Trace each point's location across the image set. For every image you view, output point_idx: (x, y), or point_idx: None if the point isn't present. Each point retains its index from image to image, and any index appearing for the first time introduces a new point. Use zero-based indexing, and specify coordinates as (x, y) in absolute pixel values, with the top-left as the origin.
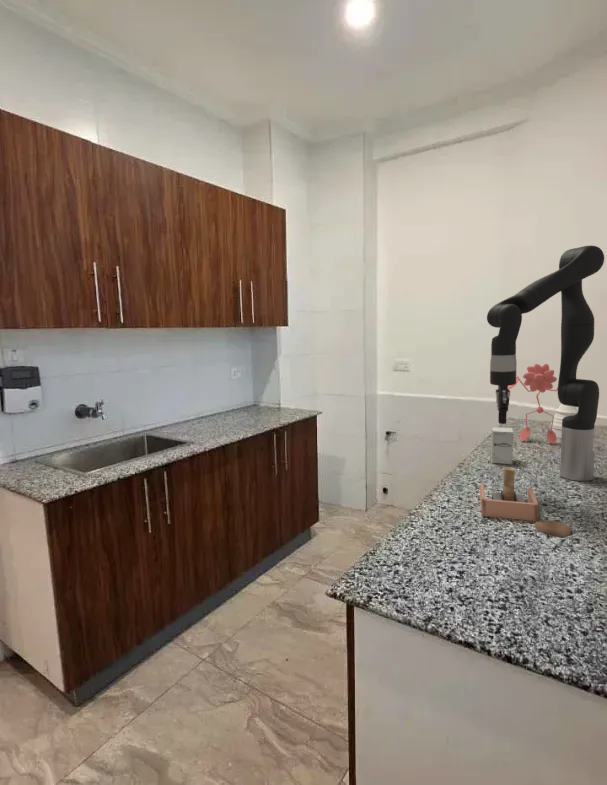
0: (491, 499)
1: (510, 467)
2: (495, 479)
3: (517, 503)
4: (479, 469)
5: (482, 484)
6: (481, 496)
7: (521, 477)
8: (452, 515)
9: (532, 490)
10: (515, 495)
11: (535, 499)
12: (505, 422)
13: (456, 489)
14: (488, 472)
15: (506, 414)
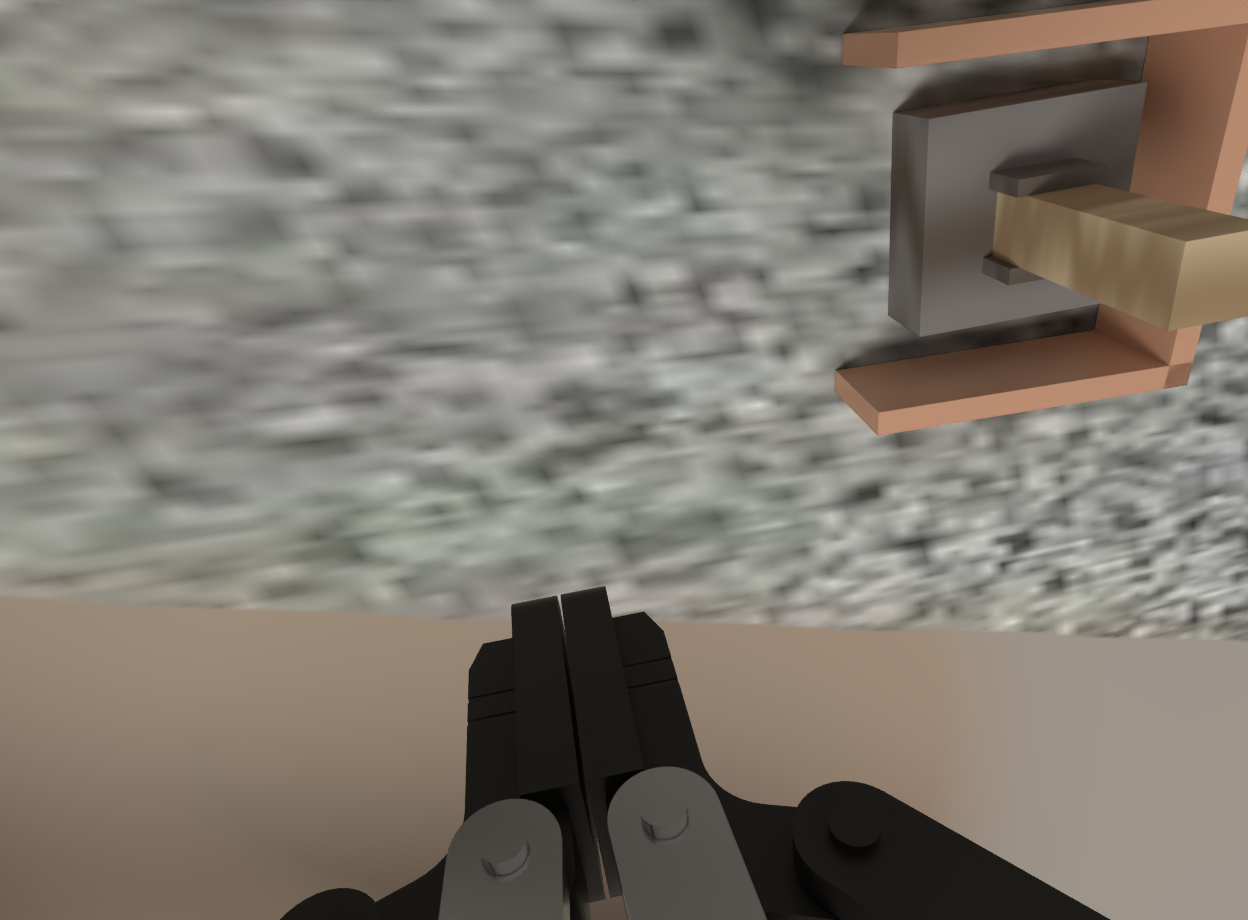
0: (1178, 329)
1: (1180, 270)
2: (370, 336)
3: (1244, 151)
4: (157, 481)
5: (883, 420)
6: (1121, 395)
7: (181, 118)
8: (1118, 483)
9: (962, 26)
10: (1104, 171)
11: (1173, 5)
12: (606, 603)
13: (708, 540)
14: (201, 407)
15: (634, 723)
